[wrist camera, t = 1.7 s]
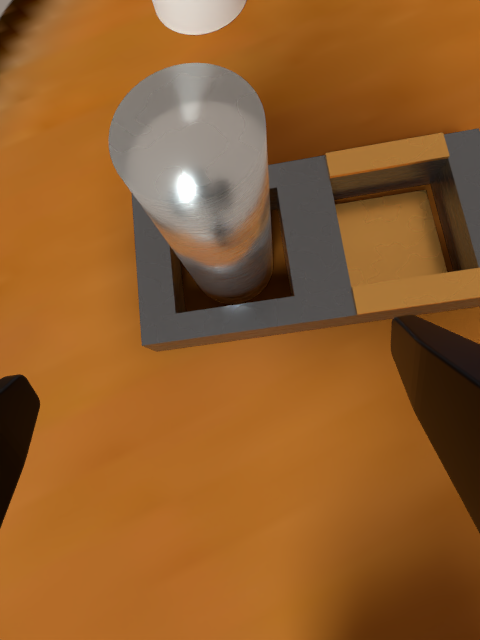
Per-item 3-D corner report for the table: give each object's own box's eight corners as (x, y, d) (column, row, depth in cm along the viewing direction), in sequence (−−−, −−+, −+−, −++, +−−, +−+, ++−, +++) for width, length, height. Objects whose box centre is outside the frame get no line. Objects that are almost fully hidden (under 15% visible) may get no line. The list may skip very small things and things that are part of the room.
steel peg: (284, 240, 23) (287, 81, 12) (257, 314, 23) (232, 222, 11) (210, 218, 24) (145, 49, 13) (181, 289, 23) (83, 178, 12)
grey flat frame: (457, 156, 23) (480, 125, 21) (500, 303, 21) (530, 289, 19) (146, 209, 25) (130, 187, 22) (156, 351, 23) (140, 345, 20)
